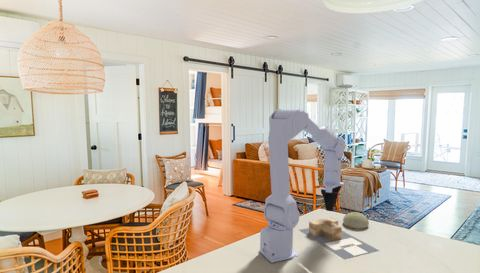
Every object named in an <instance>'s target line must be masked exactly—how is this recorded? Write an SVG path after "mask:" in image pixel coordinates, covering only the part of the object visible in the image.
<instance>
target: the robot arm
mask: <svg viewBox="0 0 480 273" xmlns="http://www.w3.org/2000/svg"><path fill="white" fill-rule="evenodd" d="M268 122H269V123H268V125H269V132H268V138H267V139H268V140H267V141H268V153H269V154H268V155H269V157H268V158H269V170H270V171H269V172H270V189H271V190H270V191H271V194H270V195H269V196H267V197H266V198H265V200H264V201H265V202H264V204H265V206H264V209H263V216H264V218H265V220H266V221H267V224H268V225H267V226H265V227H263V228H261V230H260V235H259V237H260V239H259V240H260V241H259V242H260V243H259V244H260V245H259V247H260V248H259V249H258V252H259V253H260V254H261V255H263V257H265V258H266V259H267V260H268V262H270V263H277V262H281V261H286V260H290V259H295V258H294V257H299V254H298V253H297V252H295V250H293V249H294V248H293V244H294V243H293V242H294V239H293V238H294V228H296V226H297V225H298V223H299V221H300V212H299V209H298V205H297V201H296V200H295V199H294V197H293V196H292V195H291V190H290V189H291V187H290V185H291V184H290V167H289V166H290V163H289V161H290V160H289V145H288V143H289V142H290V141H291V140H292V139H294V138H295V137H296V136H298V135H299V134H300V133H301V132H303V131H304V132H306V133H308V134H309V135H311V139H312V141H314V142H315V143H316V144H317V145H319V146H320V147H321V150H322V152H323V151H324V155H323V156H324V159H323V160H324V161H323V181H322V184H323V186H324V187H325V189H322V188H321V190H320V193H321V195H322V198H323V200H324V206H325V210H326V211H328V212H333V211H334V208H335V205H336V204H337V201H338V195H339V192H340V190H341V188H342V187H343V186H345V182H343V181H342V182H341V177H342V175H341V174H342V158H343V156H344V151H345V149H346V142H345V140H344V138H343V137H342V136H337V135H335V133H334V132H332V131H331V130H329V129H328V127H327V126H326V125H320V126H318V125H317V123H315V121H313V120H312V119H311V118H310V117H309V113H308V112H306V111H305V110H304V109H301V108H300V109H281V108H279V109H278V108H277V109H275V110H274V111H273V112H272V113H271V114H270V116H269V118H268Z"/></svg>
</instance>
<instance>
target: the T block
mask: <svg viewBox="0 0 480 273" xmlns="http://www.w3.org/2000/svg"><path fill="white" fill-rule="evenodd" d="M308 228H309V233H311V234H312V235H314V236H319V235H323V236H325V237H326V238H328V239H330V240H332V241H333V240H338V239H341V233H342V231H343V228H342V226H340V225H339V220H338V219H336V218H333V217H328V218H322V219H315V220H310V221H309V222H308Z"/></svg>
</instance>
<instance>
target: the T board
mask: <svg viewBox="0 0 480 273" xmlns="http://www.w3.org/2000/svg"><path fill="white" fill-rule="evenodd" d="M299 231H300V232H301V233H303V234H304V235H305V236H307V237H309V238H310V239H312V240H313V241H315V242H317V243H318V244H320V245H321V246H323V247H324V248H326V249H328V250H329V251H331V252H332V253H334V254H335V255H337V256H338V257H340V258H342V259H343V260H347V259H351V258H352V259H353V258H355V257H356V258H357V257H359V256H362V255H368V254H370V253H371V254H372V253H375V252H379V251H380V249H377V248H376V247H374V246H373V245H370V244H368V243H366V242H365V241H362V240H361V239H359V238H357V237H355V236H353V235H351V234H350V233H347V232H346V231H344V230H342V233H341V239H338V240H333V241H332V240H330V239H328V238H326V237H325V236H323V235H319V236H314V235H312V234H311V233H309V227H307V228H303V229H299Z"/></svg>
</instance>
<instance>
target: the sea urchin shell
mask: <svg viewBox="0 0 480 273" xmlns="http://www.w3.org/2000/svg"><path fill="white" fill-rule="evenodd" d="M342 220H343V221H342V222H343V224H344V226H346V227H348V228H352V229H357V230H363V229H366V228H368V227H369V224H370V221H369V220H368V218H367V217H366V216H365V215H364V214H363V213H361V212H359V211H358V212H357V211H353V212H352V211H351V212H350V211H349V212H348V213H347V214H345V215H344V216H343V219H342Z"/></svg>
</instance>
